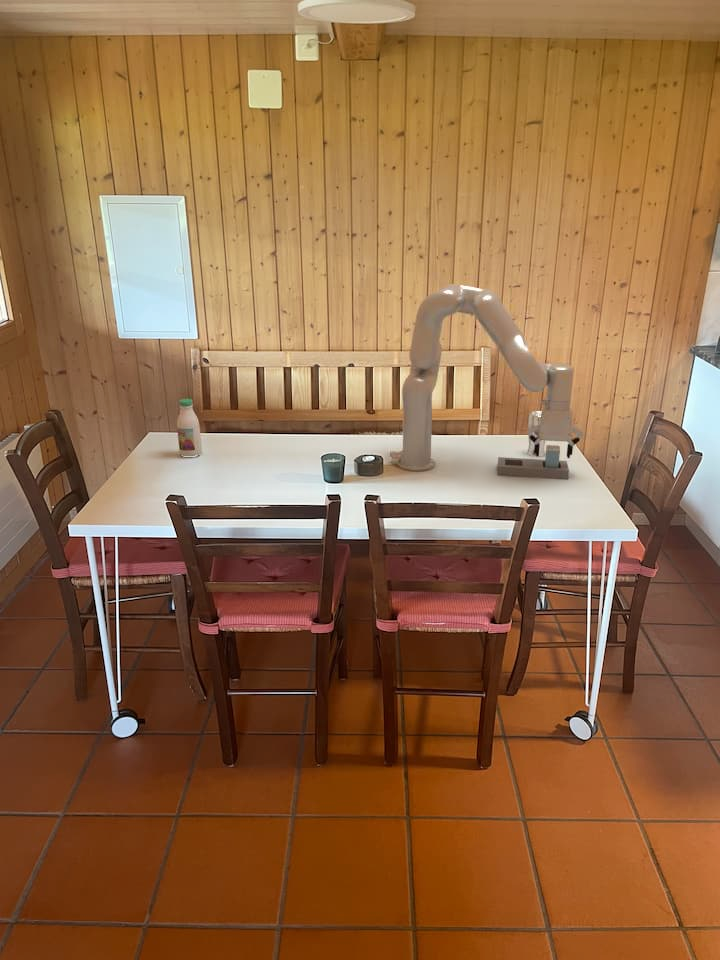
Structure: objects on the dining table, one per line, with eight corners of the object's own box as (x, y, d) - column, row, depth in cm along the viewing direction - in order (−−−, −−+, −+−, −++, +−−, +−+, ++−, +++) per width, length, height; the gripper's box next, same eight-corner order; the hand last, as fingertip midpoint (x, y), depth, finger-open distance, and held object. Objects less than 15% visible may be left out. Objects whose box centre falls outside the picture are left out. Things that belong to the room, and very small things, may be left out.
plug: (544, 475, 224) (547, 448, 220) (544, 470, 227) (546, 444, 224) (557, 476, 223) (560, 449, 220) (556, 471, 227) (559, 445, 223)
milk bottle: (192, 449, 252) (186, 396, 244) (206, 453, 248) (201, 399, 240) (175, 455, 246) (169, 400, 239) (190, 459, 242) (184, 404, 234)
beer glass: (548, 453, 244) (552, 412, 239) (542, 459, 239) (546, 417, 233) (529, 450, 248) (533, 409, 242) (522, 455, 242) (526, 414, 237)
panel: (497, 476, 224) (498, 466, 223) (497, 467, 233) (498, 457, 231) (567, 480, 220) (568, 470, 219) (565, 470, 229) (566, 460, 227)
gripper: (529, 406, 215) (525, 458, 221) (587, 408, 212) (581, 461, 218) (528, 400, 222) (524, 450, 228) (585, 402, 219) (579, 453, 225)
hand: (552, 456), depth 223 cm, fingers open, 9 cm apart
